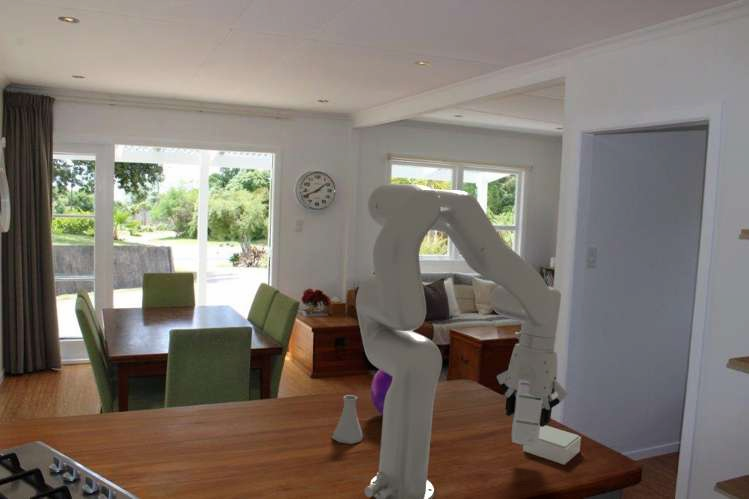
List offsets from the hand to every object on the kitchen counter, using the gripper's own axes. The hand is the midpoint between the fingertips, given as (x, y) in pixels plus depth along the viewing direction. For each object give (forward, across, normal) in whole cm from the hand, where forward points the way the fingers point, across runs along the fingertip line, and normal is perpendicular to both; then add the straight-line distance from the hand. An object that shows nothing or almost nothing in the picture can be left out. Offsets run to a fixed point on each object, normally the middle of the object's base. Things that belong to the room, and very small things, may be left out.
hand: (526, 419), depth 136 cm
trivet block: (+10, +3, +12) cm, 15 cm away
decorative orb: (+11, -34, +1) cm, 36 cm away
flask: (+12, -35, -18) cm, 42 cm away
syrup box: (+5, 0, 0) cm, 5 cm away
